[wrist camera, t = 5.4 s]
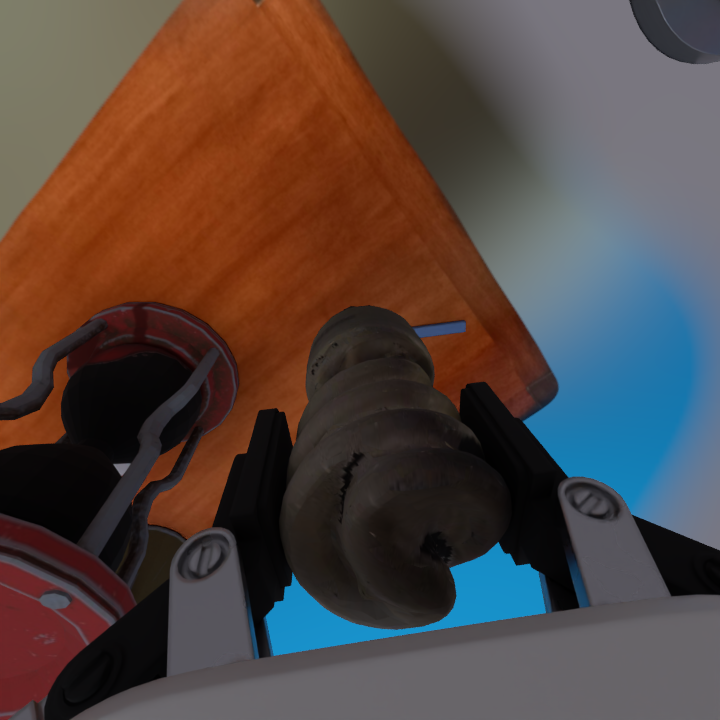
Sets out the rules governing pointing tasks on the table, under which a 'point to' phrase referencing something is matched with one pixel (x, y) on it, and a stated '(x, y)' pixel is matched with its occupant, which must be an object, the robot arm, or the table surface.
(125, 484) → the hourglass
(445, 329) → the spoon
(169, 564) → the canister
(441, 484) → the grey spiral shell
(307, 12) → the table surface
